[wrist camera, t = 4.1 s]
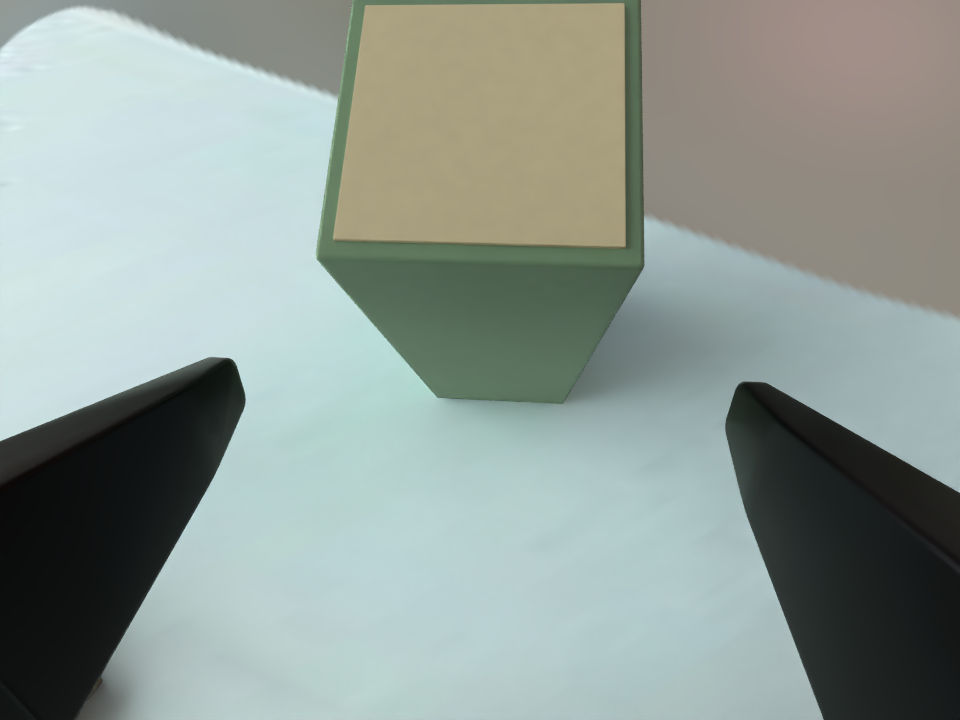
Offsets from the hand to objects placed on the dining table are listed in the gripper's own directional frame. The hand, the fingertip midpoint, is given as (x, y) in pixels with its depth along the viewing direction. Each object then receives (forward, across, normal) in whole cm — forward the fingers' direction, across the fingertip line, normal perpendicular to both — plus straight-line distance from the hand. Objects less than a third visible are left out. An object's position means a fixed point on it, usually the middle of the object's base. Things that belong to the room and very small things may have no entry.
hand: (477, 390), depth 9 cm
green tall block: (+11, 0, +5) cm, 12 cm away
